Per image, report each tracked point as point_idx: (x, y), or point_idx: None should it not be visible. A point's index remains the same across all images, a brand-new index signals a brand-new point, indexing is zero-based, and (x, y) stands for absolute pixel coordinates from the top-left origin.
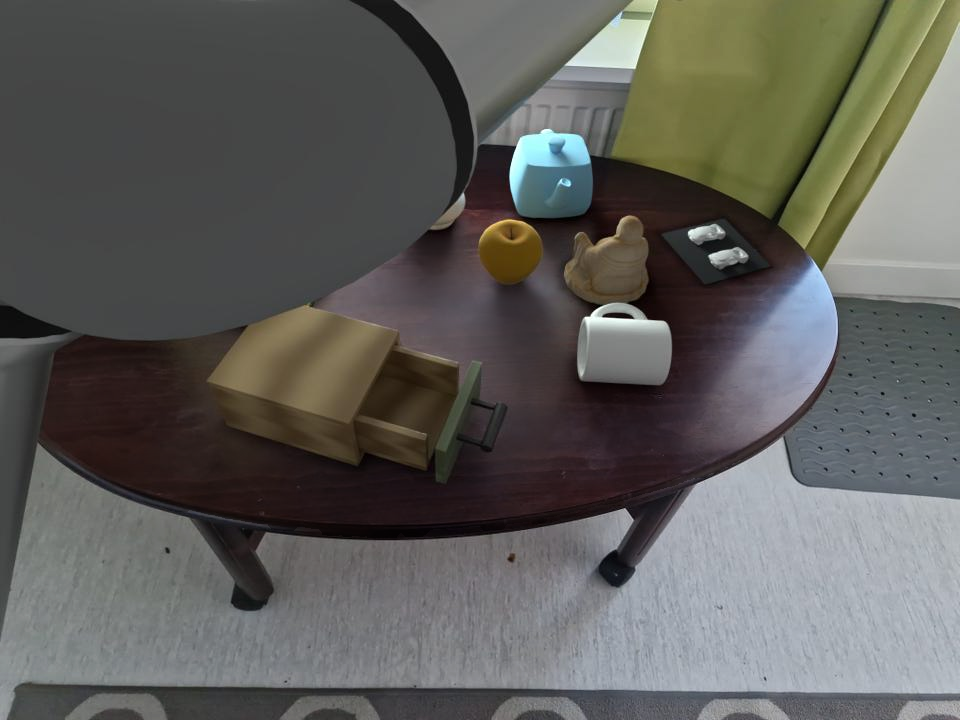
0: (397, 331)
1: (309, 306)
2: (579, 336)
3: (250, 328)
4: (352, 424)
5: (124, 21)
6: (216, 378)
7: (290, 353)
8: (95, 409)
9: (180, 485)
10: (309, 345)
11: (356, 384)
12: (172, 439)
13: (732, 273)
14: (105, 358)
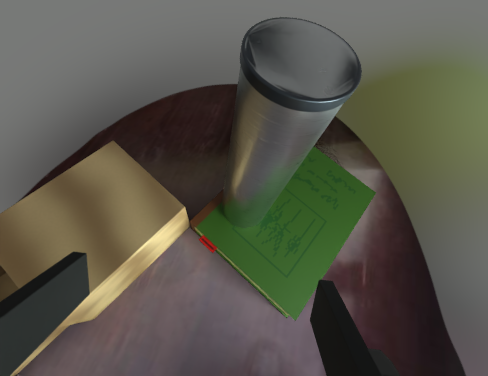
0: None
1: (222, 256)
2: None
3: (151, 181)
4: None
5: None
6: (110, 146)
7: (99, 205)
8: (189, 112)
9: (103, 139)
10: (98, 224)
11: (14, 253)
12: (142, 141)
13: None
14: (229, 122)
